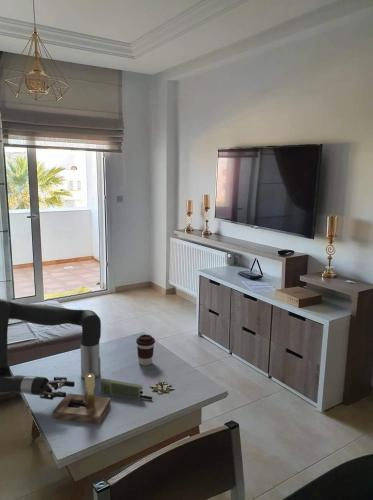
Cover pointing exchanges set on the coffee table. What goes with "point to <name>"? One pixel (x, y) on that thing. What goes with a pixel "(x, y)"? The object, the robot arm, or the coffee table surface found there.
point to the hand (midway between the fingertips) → (70, 389)
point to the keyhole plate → (81, 409)
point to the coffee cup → (145, 349)
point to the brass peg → (90, 390)
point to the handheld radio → (122, 389)
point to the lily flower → (161, 387)
